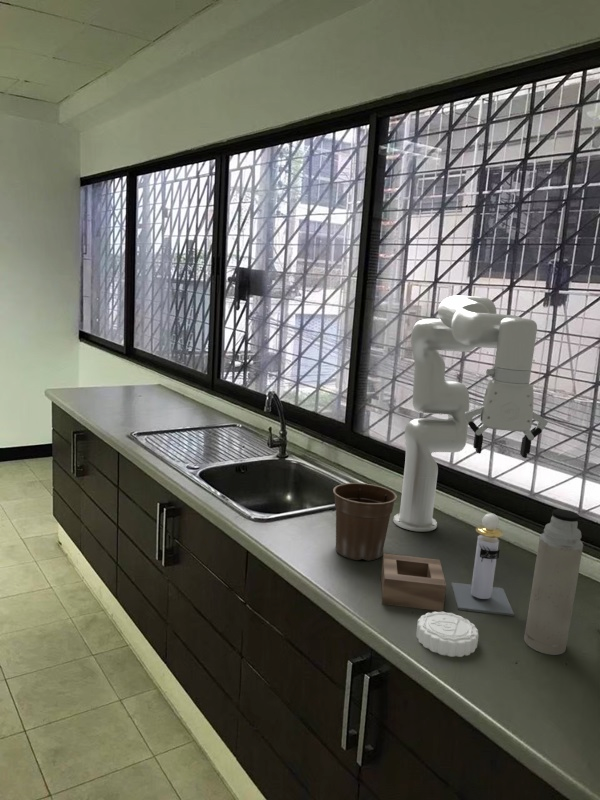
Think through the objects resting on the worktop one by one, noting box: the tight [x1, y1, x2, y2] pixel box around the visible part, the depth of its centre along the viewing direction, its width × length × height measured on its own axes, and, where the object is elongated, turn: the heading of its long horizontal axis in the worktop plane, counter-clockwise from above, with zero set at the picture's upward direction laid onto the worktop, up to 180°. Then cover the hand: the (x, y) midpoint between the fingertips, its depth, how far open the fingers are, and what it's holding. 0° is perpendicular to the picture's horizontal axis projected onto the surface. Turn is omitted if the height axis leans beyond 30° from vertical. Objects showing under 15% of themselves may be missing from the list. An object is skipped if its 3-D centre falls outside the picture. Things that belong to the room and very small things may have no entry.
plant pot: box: [332, 482, 398, 562], centre depth 167 cm, size 16×16×16 cm
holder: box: [380, 552, 447, 612], centre depth 148 cm, size 13×13×6 cm
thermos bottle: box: [523, 508, 584, 656], centre depth 129 cm, size 8×8×28 cm
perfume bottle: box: [471, 512, 504, 599], centre depth 146 cm, size 6×6×20 cm
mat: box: [450, 582, 515, 617], centre depth 148 cm, size 12×12×1 cm
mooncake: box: [415, 610, 479, 658], centre depth 130 cm, size 12×12×4 cm
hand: (500, 454), depth 142 cm, fingers open, 9 cm apart
